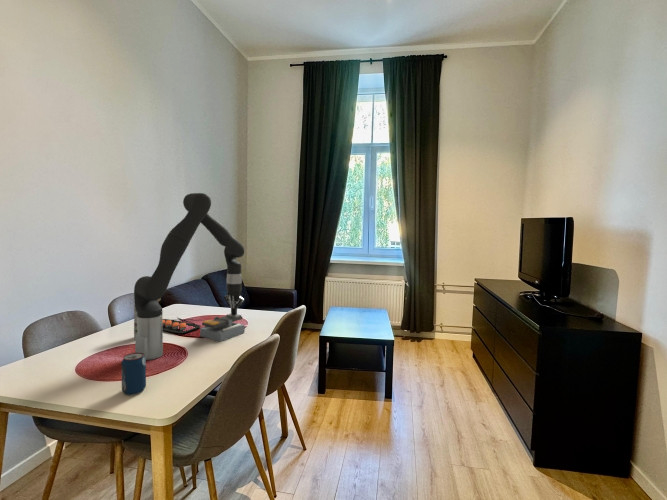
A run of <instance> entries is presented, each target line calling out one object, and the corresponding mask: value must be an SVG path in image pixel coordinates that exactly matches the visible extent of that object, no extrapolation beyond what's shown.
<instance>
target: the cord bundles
mask: <svg viewBox="0 0 667 500" xmlns="http://www.w3.org/2000/svg"><path fill="white" fill-rule="evenodd" d="M238 326H241V323H237V325H234V326H231V327H228V328H225V329H222V331H223V332H224V331H227V330H230V329H232V328H235V327H238ZM204 327H207V326H204Z"/></svg>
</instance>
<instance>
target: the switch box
mask: <svg viewBox="0 0 667 500" xmlns="http://www.w3.org/2000/svg"><path fill="white" fill-rule="evenodd" d="M216 318H219V316H214V317H213V320H214V319H216ZM237 324H238V323H237V322H232V320H231V319H230V320H228V324H225V325H222V326H219V327H216V328H212V327H205V326H204V327H200V330H199V336H200V337H202V338H205V339H210V340H213V341H217V342H224V341H226V340H228V339H231V338H235V337H236V336H240V335H242V334H244V333H245V330H246V329H245V328H246V327H245V326H246V325H245V324H241V323H240V324H241V326H238V327H235V328H232V329H230V330H227V331H224V332H223V331H222V329H225V328H228V327H231V326H234V325H237Z"/></svg>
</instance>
